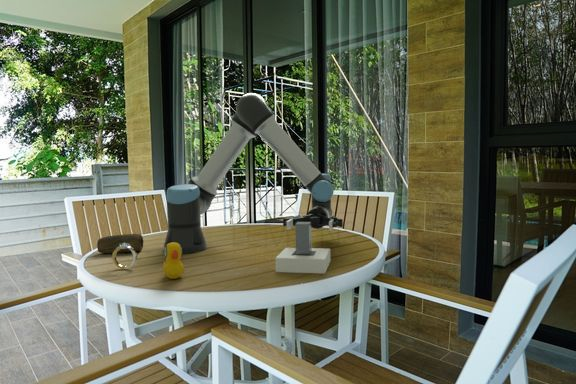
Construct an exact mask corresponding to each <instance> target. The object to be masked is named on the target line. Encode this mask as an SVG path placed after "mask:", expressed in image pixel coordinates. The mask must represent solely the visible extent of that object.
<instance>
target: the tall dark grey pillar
mask: <svg viewBox="0 0 576 384" xmlns="http://www.w3.org/2000/svg"><path fill="white" fill-rule="evenodd" d="M294 227H295V229H294V231H295V248H296V255H299V256H312V248H313V247H312V246H313V245H312V227H311V222H297V223H296V224H295V226H294Z"/></svg>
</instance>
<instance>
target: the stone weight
mask: <svg viewBox="0 0 576 384" xmlns="http://www.w3.org/2000/svg"><path fill="white" fill-rule="evenodd" d="M123 243H127V244H128V243H129V244H130V247H132V248H134V249H135V251H137V252H140V251H142V250H143V247H144V237H143V235H142V234H141V233H128V234H127V233H125V234H124V233H123V234H115V235H109V236H108V235H107V236H103V237H101V238H99V239H97V243H96V245H97V252H98V253H102V254H113V252H114V250H116V248H117V247H119V246H120V244H121V245H122V244H123ZM124 252H128V253H132V252H131V250H129V249H128V248H125V249H121V248H120V250H119V251H117V253H116V254H125V253H124Z"/></svg>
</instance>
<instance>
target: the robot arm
mask: <svg viewBox="0 0 576 384" xmlns="http://www.w3.org/2000/svg"><path fill="white" fill-rule="evenodd" d="M230 121H231V127H230V128H229V129H228V131H227V132H226V134H225V135H224V137H223V138H222V140H220V143H219V144H218V146H217V147H216V149H215V150H214V151H213V153H212V154H211V156H210V157H209V159H208V161H207V162H206V163H205V164H204V166H203V167H202V169H201V171H200V172H199V173H198V175H197V176H192V177H191V178H190V180H189V181H188V182H187V183H185V184H177V185H172V186H170V187H168V188H167V189H166V196H165V199H166V214H167V232H166V235H165V239H164V242H163V243H164V244H163V252H164V251H165V247H166V245H167V244H169V243H172V242H176V243H178V244H180V246H181V248H182V254H190V253H198V252H202V251H204V250H206V249H207V247H208V246H207V240H206V237H205V235H204V232H203V230H202V222H201V220H202V219H201V215H203V214H205V213H206V212H207V211H208V210H209V209H210V207H211V205H212V202H213V200H214V199H215V197H216V196H217V194H218V191H217V187H218V186H219V185H220V184H221V181H223V179H224V177H225V176H226V174H227V173H228V172H229V170H230V169H231V167H232V166H233V165H234V164H235V162H236V160H237V158H238V157H239V156H240V154H241V153H242V151H243V150H244V149H245V147H246V146H247V144H248V143H249V141H250V139H253V138H257V136H258V135H260V137H261V138H262V139H263V141H264V142H265V143H266V144H267V145H268V147H270V149H272V151H274V152H275V154H276V155H277V156H278V158H280V160H281V161H282V162H283V163H284V165H286V167H287V168H288V169H289V170H290V171H291V173H293V175H294V176H295V177H296V178H297V179H298V180H299V181H300V183H301V184H302V185H303V186H304V187H305V188H306V190H307V191H308V192H309V193H310V194H311V209H310V210H309V211H308V212H307V213H306V215H302V216H301V215H299V214H298V215H295V216H290V217H284V218H282V226H283V227H286V231H289V230H291V229H292V228H294V227H295V224H296V223H297V222H311V229H316V230H317V229H322V228H323V227H325V226H327V227H328V231H329V232H330V231H333V229H334V228H337V227H339V228H343V227H344V226H343V225H344V224H343V222H344V221H343V219H344V218H343V219H342V218H339V217H337V216H336V215H333V210H332V197H333V195H334V192H335V191H334V190H335V189H334V186H333V185H332V179H331V174H330V173H322V172H321V171H320V170H319V169H318V168H317V166H316V165H315V164H314V163H313V162H312V161H311V160H310V158H309V157H308V156H307V155H306V154H305V153H304V151H302V149H301V148H300V147H299V146H298V145H297V143H295V141H294V140H293V139H292V138H291V137H290V135H289V134H288V133H287V132H286V130H284V128H283V127H282V126H281V125H280V124H279V123H278V122H277V120H276V114H274V113H273V111H272V110H271V108H270V105H269V104H268V102H267V101H266V99H264V98H263V96H261V95H259V94H258V93H255V92H254V93H253V92H249V93H246V94H244V95H242V96H241V97H240V98H239V99H238V100H237V103H236V106H235V114H234V115H233V116H232V117H231V120H230Z"/></svg>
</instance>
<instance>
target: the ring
mask: <svg viewBox="0 0 576 384" xmlns="http://www.w3.org/2000/svg"><path fill="white" fill-rule="evenodd" d="M120 248H121V249H125V248H128V249H129V250H131V252H130V253H131V254H132V256H133V257H132V258H133V259H132V262H131V264H130V265H121V264H120V263H119V262H118V260H117V254H118V253H117V251H119V250H120ZM111 254H112V257H111V259H112V262H113V263H114V265H115V266H116V267H117V268H119V269H121V270H124V269H126V270H128V269H130V268H132V267H133V266H134V265H135V264H136V262H137V258H138V254H137V252H136V251H135V249H134V248H132V247H130V244H129V243H128V244H127V243H123V244H122V245H121V244H120V246H119V247H117V248H116V250H114V252H113V253H111Z"/></svg>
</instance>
